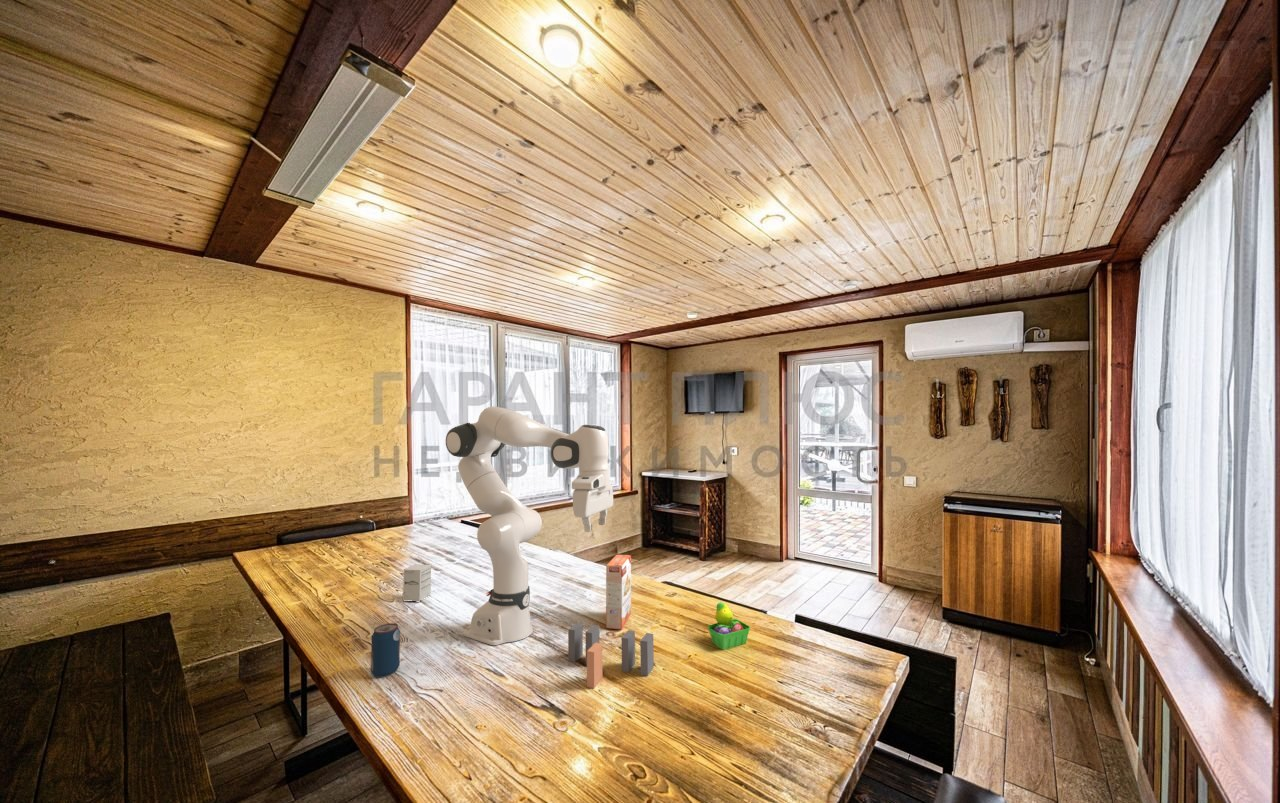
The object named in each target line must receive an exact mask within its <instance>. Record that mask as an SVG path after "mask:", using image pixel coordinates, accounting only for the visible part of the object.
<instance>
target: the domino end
mask: <svg viewBox="0 0 1280 803" xmlns="http://www.w3.org/2000/svg"><path fill="white" fill-rule="evenodd" d="M639 649H640V676H645V677H649V675H650V674H651V673H652V671H653V669H654V665H655V664H654V662H655V660H654V633H650V632H646V633H645V634H644V636H643V637H642V638H641V639H640V648H639Z"/></svg>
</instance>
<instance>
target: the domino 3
mask: <svg viewBox="0 0 1280 803" xmlns="http://www.w3.org/2000/svg"><path fill="white" fill-rule="evenodd" d="M602 680H603V643H601V642H600V643H595V644H594V645H593V646H592V647H591V648H590V649H589V650H588V651H587V665H586V687H587V688H590V689H595V688H596V687H597V686H598V685H599V684H600V682H601V681H602Z"/></svg>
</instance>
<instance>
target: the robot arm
mask: <svg viewBox="0 0 1280 803" xmlns="http://www.w3.org/2000/svg"><path fill="white" fill-rule="evenodd" d="M505 445H506V446H510V447H517V448H530V447H533V448H534V447H542V448H543V447H544V448H545V447H546V448H550V458H551V461H552V463H553V465H555V466H556V467H557V468H559V469H565V470H566V469H567V470H569V469H575V468H577V469H578V475H577V476H576V477H575V479H574V480H572V481H571V489H572V490H573V493H572V510H573V515H574V516H575V518H581V521H582V524H583V528H584V529H583V530H584V532H586V533H590V532H592V531H593V524H591V518H592V516H593V515H595V514H598V513H599V518H598V520H597V521H598V525H599V526H604V525H606V523H607V515H608V510H609V509H610V508H612V507H613V506H614V491H613V486H612V484H611V483H610V481H611V480H610V466H609V460H608V459H609V455H610V451H609V450H610V448H609V445H610V444H609V437H608V433H607V430H606V429H605V428H604V427H602V426H600V425H596V424H595V425H594V424H583V425H580V427H579V428H578V429H577V430H575V431H573V432H571V433H569V432H565V431H562V430H559V429H557V428H554V427H550V426H548V425H546V424H544V423H541V422H539V421H538V420H534V419H532V418H530V417H528V416H526V415H523V414H522V413H520V412H517V411H514V410H511V409H508V408H505V407H502V406H501V407H500V406H488V407H486V408H484V409H483V410H482V411H481V412H480V415H479V416H478V420H477V421H476V422H474V423H470V422H466V423H463V424H460V425H459V424H458V425H457V426H454V427H452V428H451V429H449V431H448V432H447V433H446V436H445V447H446V449H447V451H448V453H449V454H450V455H452V456H454V457H456V458H461V459H460V460H459V462H458V466H457V468H458V469H457V470H458V472H459V475H460V478H461V480H462V483H463V484H464V486H465V489H466V490H467V492H468V494H469V495H470V497H471V499H472V500H473V502H474V504H475V506H476V507H477V508H478V510H479V511H481V512H483V513H486V514H488V515H489V516H491V517H490V518H488V519H486V520H485V521H483V522H482V523H481V524H480V525H479V526H478V528H477V532H476V539H477V542H478V544H479V546H480V547H481V549H483V550H484V551H486V552H487V554H488V555H489V558H490V560H491V564H492V574H493V575H492V576H493V580H492V581H493V588H492V589H490V591H487V592H486V595H485V596H486V597H489V598H488V601H486V602H485V603H484V604H483V605H481V606H480V607H479V608H478V609H476V610H475V612H474V613H473V614H472V617H471V621H470V624H469V625H468V626H467V627H466V628H465V629H464V630H463V633H462V635H463V636H464V637H466V638H469V639H473V640H476V641H478V642H481V643H484V644H488V645H490V646H498V645H501V644H505V643H513V642H516V641H520V640H523V639H526V638H528V637H529V636H530V635H532V634H533V632H534V627H533V623H532V620H531V614H530V601H531V600H530V598H531V596H530V594H531V592H530V591H531V590H530V586H529V563H528V561H527V560H526V559H525V558H524V557H522V555H521V553H520V547H519V546H520V544H522V543H525V542H528V541H531V540H532V539H533V538H534V537H536V536H537V535H538V534H539V533H540V531H541V530H542V526H543V522H542V517H541V515H540V513H539V512H538V511H537V510H536V509H535V510H534V509H532V508H530V507H529V506H527V505H525V504H524V503H522V502H521V501H520V500H519V499H518V498H517V497H516V496H514V494H513V493H512V492H511V491H510V490H509V489H508V488H507V486H506V484H505V483H504V481H503V480H502V479H501V477H500V476H499V473H498V472H497V471H496V469H495V467H494V466H493V464H492V462H491V459H492V458H494V457H495V458H496V457H497V456H498V455H499V453H500V451H502V449H503V448H504V447H505Z"/></svg>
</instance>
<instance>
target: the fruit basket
mask: <svg viewBox="0 0 1280 803" xmlns="http://www.w3.org/2000/svg"><path fill="white" fill-rule="evenodd" d="M715 621H716V623H713V624H709V625H707V628H708V632H709V633H710V637H711V641H712V643H713V645H715V646H717V648H720V649H721V650H723V651H724V650H728V649H731V648H734V647H737V646H738V647H739V646H741V645H745V644H747V640H748V635H749V634H750V633H749V632H750V630H751V626H750V625H749V624H747V623H745V622H743V621H741V620H739V619H738V618H734V613H733V612H732V610H731V609H730V608H729V607H728V605H727V604H726V603H724V602H718V603H717V604H716V611H715Z"/></svg>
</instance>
